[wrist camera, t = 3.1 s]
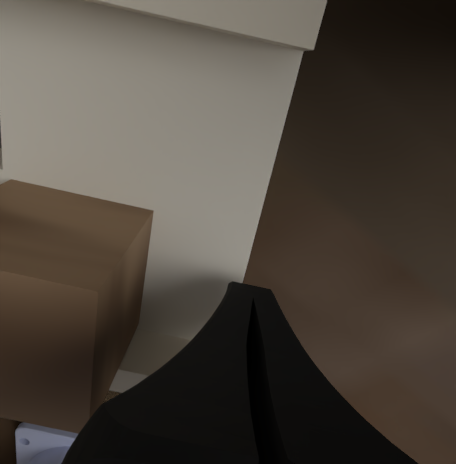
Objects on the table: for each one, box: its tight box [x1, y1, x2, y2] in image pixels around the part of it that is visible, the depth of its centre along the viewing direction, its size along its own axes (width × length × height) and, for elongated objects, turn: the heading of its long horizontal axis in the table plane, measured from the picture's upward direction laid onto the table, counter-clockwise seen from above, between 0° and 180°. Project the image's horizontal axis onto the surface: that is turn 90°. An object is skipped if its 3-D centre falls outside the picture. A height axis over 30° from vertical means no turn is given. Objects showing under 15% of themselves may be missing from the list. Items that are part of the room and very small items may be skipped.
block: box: [0, 179, 154, 434], centre depth 11 cm, size 4×4×4 cm
